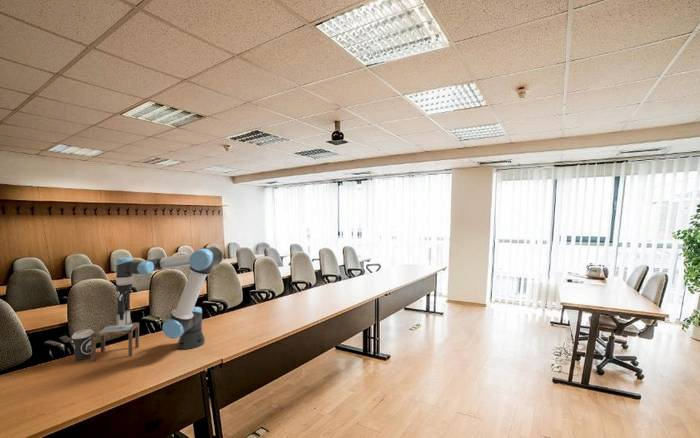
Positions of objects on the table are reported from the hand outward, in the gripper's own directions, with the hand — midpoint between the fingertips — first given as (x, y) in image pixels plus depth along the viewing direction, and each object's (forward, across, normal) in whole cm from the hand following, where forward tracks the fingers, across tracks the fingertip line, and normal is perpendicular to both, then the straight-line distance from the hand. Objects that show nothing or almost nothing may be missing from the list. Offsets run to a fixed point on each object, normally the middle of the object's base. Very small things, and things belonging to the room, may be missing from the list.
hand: (123, 323), depth 173 cm
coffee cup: (+18, 0, -19) cm, 26 cm away
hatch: (+3, 0, -4) cm, 5 cm away
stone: (0, 0, 0) cm, 0 cm away
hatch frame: (+17, 0, -3) cm, 18 cm away
